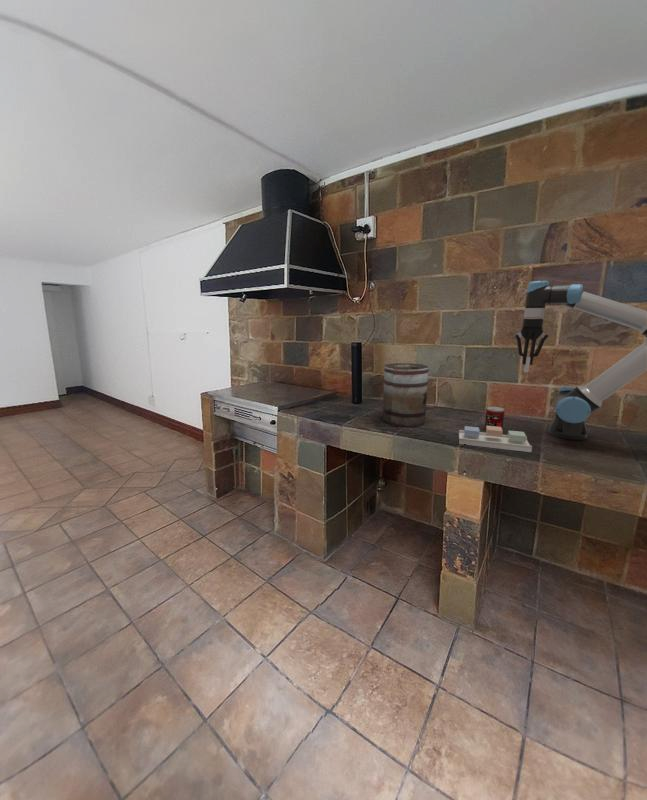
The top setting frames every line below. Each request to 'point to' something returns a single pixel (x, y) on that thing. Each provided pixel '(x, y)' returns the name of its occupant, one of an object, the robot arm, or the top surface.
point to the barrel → (405, 394)
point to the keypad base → (494, 442)
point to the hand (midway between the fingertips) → (526, 371)
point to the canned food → (494, 417)
